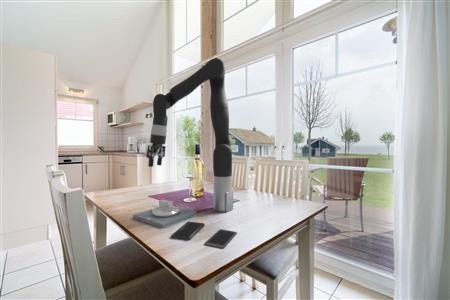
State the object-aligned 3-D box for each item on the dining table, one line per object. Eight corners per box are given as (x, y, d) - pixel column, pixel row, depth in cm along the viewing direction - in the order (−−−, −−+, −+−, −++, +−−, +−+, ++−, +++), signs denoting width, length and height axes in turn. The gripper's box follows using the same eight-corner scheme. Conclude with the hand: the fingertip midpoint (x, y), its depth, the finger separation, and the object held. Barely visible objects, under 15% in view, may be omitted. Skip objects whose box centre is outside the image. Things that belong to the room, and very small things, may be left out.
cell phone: (203, 246, 73) (203, 243, 73) (220, 230, 86) (220, 228, 86) (223, 250, 70) (223, 248, 70) (237, 233, 83) (237, 231, 83)
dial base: (196, 214, 103) (196, 211, 103) (163, 228, 86) (163, 224, 86) (167, 207, 114) (167, 204, 114) (133, 218, 97) (133, 214, 97)
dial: (184, 212, 102) (184, 200, 101) (164, 219, 92) (164, 206, 91) (162, 206, 110) (162, 195, 110) (141, 212, 100) (141, 200, 100)
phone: (205, 223, 90) (189, 238, 76) (205, 226, 90) (189, 241, 76) (187, 221, 92) (169, 235, 78) (187, 224, 92) (169, 238, 78)
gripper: (158, 134, 103) (154, 168, 104) (171, 136, 117) (168, 165, 118) (144, 132, 104) (140, 166, 105) (158, 134, 118) (155, 163, 119)
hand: (155, 165), depth 111 cm, fingers open, 8 cm apart
